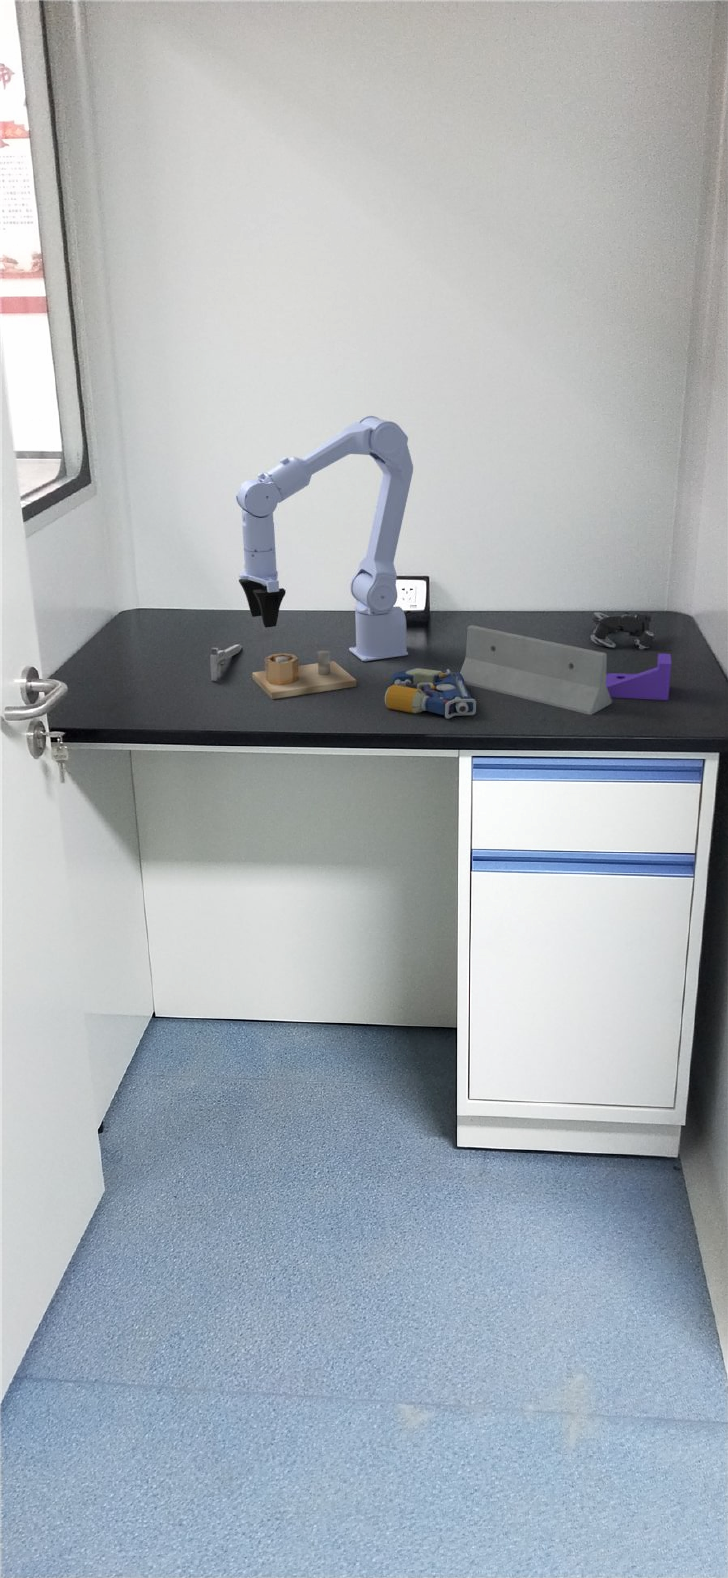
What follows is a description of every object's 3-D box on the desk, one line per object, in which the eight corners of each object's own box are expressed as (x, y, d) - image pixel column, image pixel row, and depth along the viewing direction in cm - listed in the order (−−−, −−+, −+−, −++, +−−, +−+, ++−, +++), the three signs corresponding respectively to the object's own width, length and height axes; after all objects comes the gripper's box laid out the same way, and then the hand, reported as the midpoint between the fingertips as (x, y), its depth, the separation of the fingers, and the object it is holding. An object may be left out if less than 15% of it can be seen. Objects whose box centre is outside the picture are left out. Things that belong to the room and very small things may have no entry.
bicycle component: (591, 617, 242) (583, 641, 230) (607, 586, 239) (599, 609, 226) (645, 641, 242) (639, 667, 229) (661, 611, 238) (656, 635, 225)
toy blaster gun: (387, 724, 196) (477, 722, 197) (387, 700, 194) (477, 698, 195) (379, 685, 215) (460, 684, 216) (379, 663, 213) (461, 661, 214)
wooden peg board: (333, 666, 223) (332, 640, 221) (356, 686, 213) (355, 658, 211) (252, 678, 218) (250, 651, 216) (272, 699, 208) (270, 671, 206)
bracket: (667, 688, 210) (670, 651, 207) (668, 701, 203) (671, 664, 201) (598, 685, 212) (600, 648, 209) (597, 698, 206) (599, 661, 203)
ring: (292, 672, 217) (291, 651, 215) (301, 681, 212) (300, 660, 210) (263, 676, 215) (261, 655, 213) (271, 686, 210) (270, 665, 209)
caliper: (217, 683, 217) (214, 650, 214) (211, 683, 217) (208, 650, 214) (242, 649, 235) (240, 618, 233) (237, 649, 235) (234, 618, 233)
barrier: (611, 704, 203) (615, 648, 199) (590, 716, 198) (594, 659, 194) (479, 672, 219) (480, 620, 215) (457, 683, 214) (457, 630, 210)
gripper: (227, 542, 218) (232, 613, 224) (250, 559, 206) (255, 634, 211) (263, 538, 220) (267, 609, 226) (288, 554, 208) (292, 629, 214)
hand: (263, 621), depth 219 cm, fingers open, 7 cm apart
